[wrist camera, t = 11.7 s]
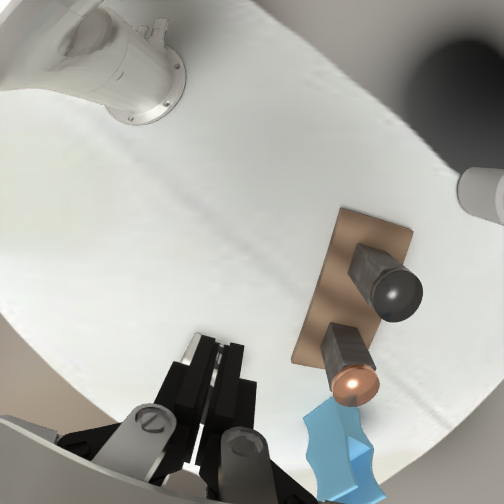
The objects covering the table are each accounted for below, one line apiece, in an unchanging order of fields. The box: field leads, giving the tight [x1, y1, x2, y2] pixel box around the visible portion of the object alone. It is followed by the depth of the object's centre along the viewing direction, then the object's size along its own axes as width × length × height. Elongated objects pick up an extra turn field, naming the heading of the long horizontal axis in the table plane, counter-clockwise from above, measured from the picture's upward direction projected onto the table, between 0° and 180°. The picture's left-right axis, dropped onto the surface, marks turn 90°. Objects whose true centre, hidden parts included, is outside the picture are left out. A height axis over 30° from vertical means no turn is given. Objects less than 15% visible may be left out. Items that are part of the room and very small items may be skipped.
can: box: [458, 167, 504, 226], centre depth 33 cm, size 8×8×12 cm
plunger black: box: [370, 267, 423, 322], centre depth 35 cm, size 6×6×12 cm
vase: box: [303, 396, 386, 504], centre depth 41 cm, size 8×8×20 cm
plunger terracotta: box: [331, 364, 380, 407], centre depth 39 cm, size 6×6×12 cm
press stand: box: [291, 208, 417, 392], centre depth 39 cm, size 24×11×12 cm, turn 166°
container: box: [180, 333, 224, 427], centre depth 42 cm, size 8×8×13 cm
